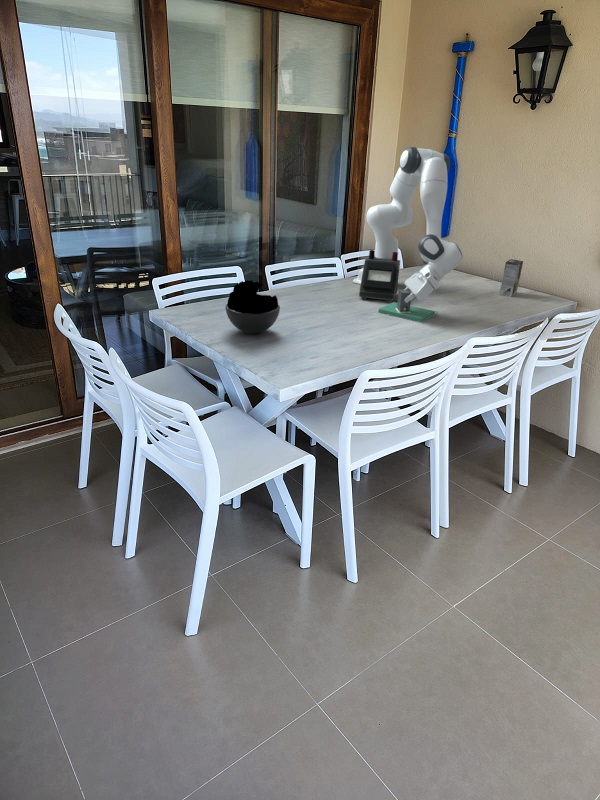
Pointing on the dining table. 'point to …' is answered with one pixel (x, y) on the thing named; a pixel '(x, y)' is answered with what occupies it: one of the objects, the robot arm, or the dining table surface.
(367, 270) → the voltmeter
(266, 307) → the coal bowl
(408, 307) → the block
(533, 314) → the dining table surface
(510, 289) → the coffee box
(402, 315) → the header board
